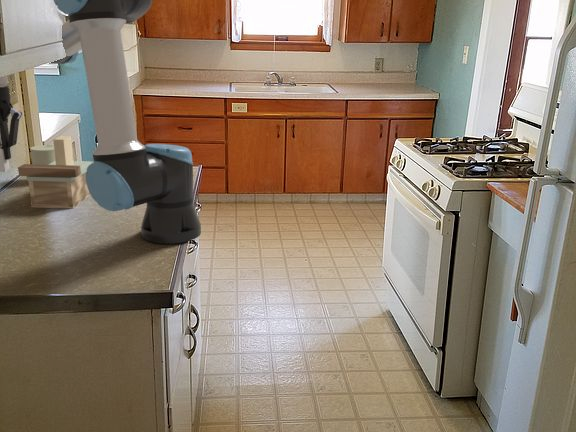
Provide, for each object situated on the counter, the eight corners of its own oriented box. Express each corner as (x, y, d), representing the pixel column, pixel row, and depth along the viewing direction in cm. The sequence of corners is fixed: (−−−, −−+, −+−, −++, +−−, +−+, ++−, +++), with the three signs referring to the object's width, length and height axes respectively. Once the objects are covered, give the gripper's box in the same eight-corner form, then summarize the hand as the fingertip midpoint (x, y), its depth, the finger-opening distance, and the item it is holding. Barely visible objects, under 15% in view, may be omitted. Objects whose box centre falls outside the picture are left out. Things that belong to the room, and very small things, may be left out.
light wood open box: (73, 208, 160) (70, 181, 157) (31, 207, 160) (28, 180, 157) (96, 189, 179) (94, 165, 176) (59, 188, 179) (56, 164, 176)
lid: (71, 181, 157) (67, 146, 154) (26, 180, 157) (22, 145, 154) (95, 165, 176) (92, 133, 173) (55, 164, 176) (52, 132, 173)
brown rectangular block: (75, 177, 156) (75, 168, 155) (19, 175, 156) (17, 167, 155) (81, 174, 159) (80, 165, 159) (25, 172, 159) (24, 164, 159)
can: (68, 178, 191) (65, 144, 187) (55, 185, 182) (51, 149, 178) (42, 177, 192) (39, 142, 188) (28, 183, 183) (24, 148, 179)
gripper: (23, 85, 153) (33, 168, 161) (-24, 83, 153) (-12, 166, 161) (10, 87, 146) (21, 174, 154) (-39, 86, 146) (-26, 173, 153)
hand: (5, 170), depth 157 cm, fingers closed
